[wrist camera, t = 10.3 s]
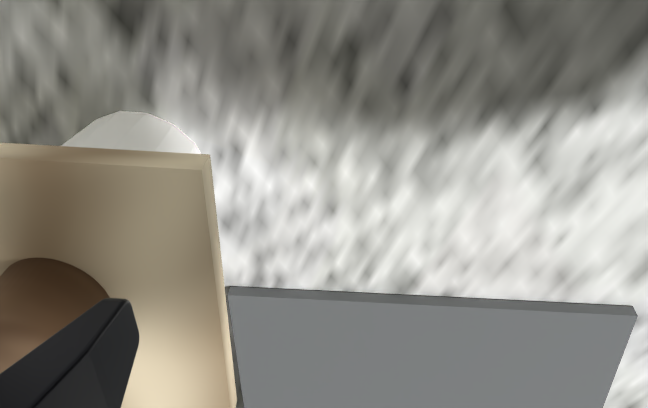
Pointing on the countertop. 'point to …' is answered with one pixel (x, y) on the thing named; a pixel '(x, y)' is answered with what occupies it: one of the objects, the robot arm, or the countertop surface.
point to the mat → (423, 350)
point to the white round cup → (133, 134)
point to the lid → (118, 262)
